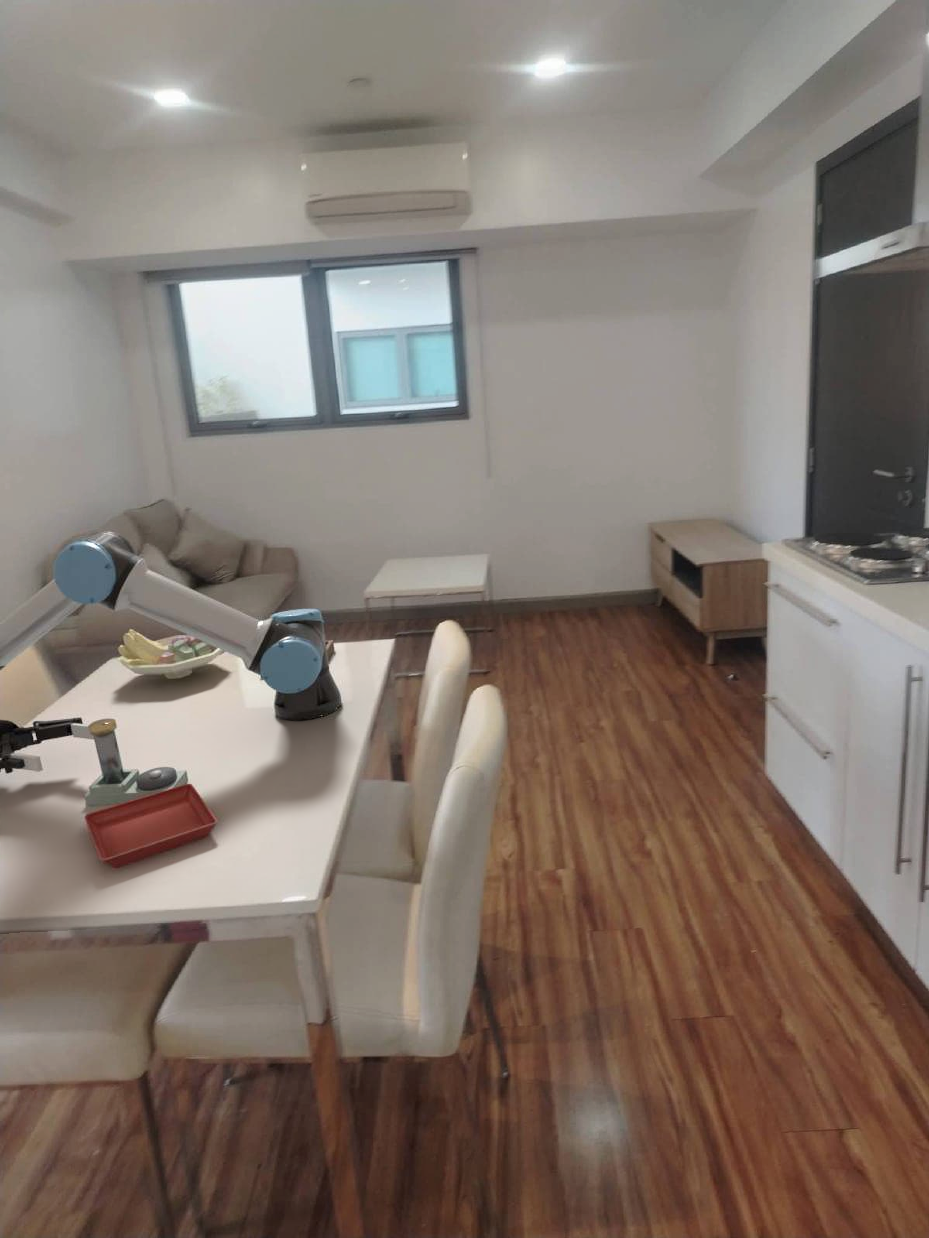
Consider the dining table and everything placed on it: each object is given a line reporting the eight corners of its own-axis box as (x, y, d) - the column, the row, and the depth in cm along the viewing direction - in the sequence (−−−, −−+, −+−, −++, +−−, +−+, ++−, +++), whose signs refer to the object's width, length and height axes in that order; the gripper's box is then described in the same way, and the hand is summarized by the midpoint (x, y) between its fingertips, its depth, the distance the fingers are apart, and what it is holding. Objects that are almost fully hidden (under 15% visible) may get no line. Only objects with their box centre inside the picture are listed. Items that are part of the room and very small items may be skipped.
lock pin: (132, 777, 150) (119, 717, 146) (121, 789, 145) (108, 727, 142) (109, 778, 150) (95, 719, 147) (97, 790, 146) (83, 729, 142)
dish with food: (102, 678, 212) (93, 628, 208) (195, 649, 232) (189, 603, 228) (156, 704, 195) (148, 650, 191) (252, 670, 215) (246, 621, 211)
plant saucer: (193, 797, 145) (190, 780, 144) (222, 838, 130) (218, 820, 129) (87, 831, 136) (83, 814, 135) (104, 880, 121) (100, 861, 120)
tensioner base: (188, 779, 151) (184, 761, 150) (172, 800, 144) (168, 781, 143) (106, 784, 152) (102, 766, 151) (86, 805, 145) (81, 786, 144)
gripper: (47, 729, 169) (123, 738, 161) (-65, 784, 147) (17, 797, 139) (39, 696, 167) (116, 704, 159) (-76, 747, 145) (6, 758, 137)
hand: (70, 747), depth 149 cm, fingers open, 13 cm apart
